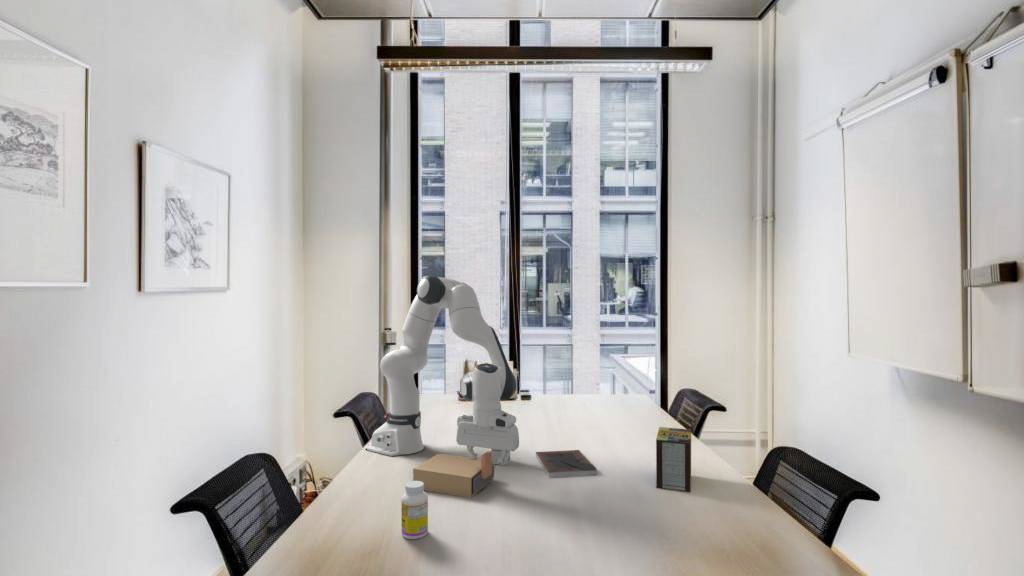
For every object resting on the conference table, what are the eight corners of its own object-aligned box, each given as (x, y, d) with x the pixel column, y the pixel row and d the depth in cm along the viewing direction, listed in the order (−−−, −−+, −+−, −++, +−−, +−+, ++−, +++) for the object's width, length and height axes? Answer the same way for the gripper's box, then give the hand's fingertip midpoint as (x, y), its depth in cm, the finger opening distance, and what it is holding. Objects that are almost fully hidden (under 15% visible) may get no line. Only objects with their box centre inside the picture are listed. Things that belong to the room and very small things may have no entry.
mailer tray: (415, 484, 167) (415, 451, 167) (438, 469, 180) (438, 439, 180) (478, 494, 158) (478, 460, 158) (497, 478, 172) (497, 447, 172)
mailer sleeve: (413, 487, 166) (413, 468, 166) (438, 471, 181) (438, 453, 181) (470, 497, 158) (470, 477, 158) (492, 479, 173) (492, 460, 173)
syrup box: (507, 465, 186) (507, 424, 186) (490, 464, 187) (490, 423, 187) (510, 460, 192) (510, 420, 192) (494, 459, 193) (494, 419, 193)
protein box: (691, 475, 177) (691, 429, 177) (690, 492, 162) (691, 442, 162) (658, 471, 180) (658, 426, 180) (655, 488, 166) (655, 438, 166)
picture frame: (596, 476, 178) (578, 456, 199) (596, 469, 178) (578, 449, 199) (548, 479, 175) (535, 458, 196) (548, 472, 175) (535, 451, 196)
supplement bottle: (403, 528, 138) (403, 479, 138) (428, 527, 139) (428, 478, 139) (399, 541, 132) (399, 489, 132) (426, 539, 132) (426, 488, 132)
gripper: (452, 416, 166) (452, 460, 166) (513, 422, 159) (513, 469, 159) (461, 412, 172) (462, 454, 172) (521, 417, 164) (521, 462, 165)
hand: (487, 461), depth 165 cm, fingers open, 8 cm apart
